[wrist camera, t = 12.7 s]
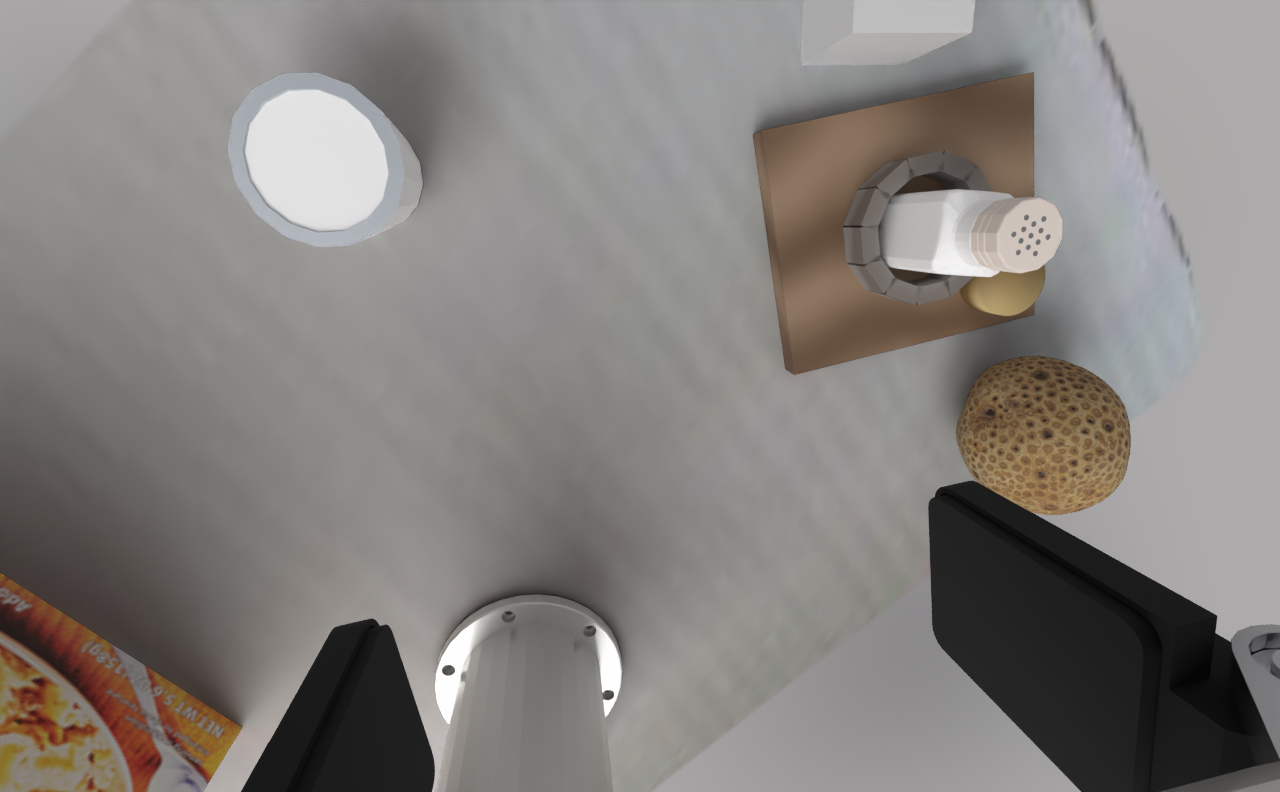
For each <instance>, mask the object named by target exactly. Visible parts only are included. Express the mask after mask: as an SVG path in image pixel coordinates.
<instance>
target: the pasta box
mask: <svg viewBox="0 0 1280 792" xmlns="http://www.w3.org/2000/svg"><path fill="white" fill-rule="evenodd" d="M241 729H242V728H241V727H240V726H238V725H237V724H235V723H234V722H232V721H230V720H229V719H227V718H226V717H224V716H223V715H221V714H220V713H218V712H216V711H215V710H213V709H212V708H210V707H209V706H207V705H205V704H204V703H202V702H201V701H199V700H198V699H196V698H195V697H193V696H191V695H190V694H188V693H187V692H185V691H184V690H182V689H181V688H179V687H177V686H176V685H174V684H173V683H171V682H170V681H168V680H167V679H165V678H163V677H162V676H160V675H159V674H157V673H156V672H154V671H152V670H151V669H149V668H148V667H146V666H145V665H143V664H142V663H140V662H138V661H137V660H135V659H134V658H132V657H131V656H129V655H128V654H126V653H124V652H123V651H121V650H120V649H118V648H117V647H115V646H113V645H112V644H110V643H109V642H107V641H106V640H104V639H103V638H101V637H99V636H98V635H96V634H95V633H93V632H92V631H90V630H89V629H87V628H85V627H84V626H82V625H81V624H79V623H78V622H76V621H74V620H73V619H71V618H70V617H68V616H67V615H65V614H64V613H62V612H60V611H59V610H57V609H56V608H54V607H53V606H51V605H50V604H48V603H46V602H45V601H43V600H42V599H40V598H39V597H37V596H35V595H34V594H32V593H31V592H29V591H28V590H26V589H25V588H23V587H21V586H20V585H18V584H17V583H15V582H14V581H12V580H11V579H9V578H7V577H6V576H4V575H3V574H1V573H0V792H203V791H204V789H205V788H206V786H207V784H208V783H209V781H210V780H211V778H212V776H213V775H214V773H215V771H216V770H217V768H218V766H219V765H220V763H221V762H222V760H223V758H224V757H225V755H226V753H227V752H228V750H229V748H230V747H231V745H232V744H233V742H234V740H235V739H236V737H237V735H238V734H239V732H240V731H241Z"/></svg>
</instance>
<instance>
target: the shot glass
mask: <svg viewBox="0 0 1280 792" xmlns="http://www.w3.org/2000/svg"><path fill="white" fill-rule="evenodd" d="M227 150H228V155H229V159H230V163H231V167H232V171H233V175H234V180H235V184H236V186H237V187H238V189H239V190H240V192H241V193H242V195H243V196H244V197H245V199H246V200H247V202H248V203H249V205H250V206H251V208H252V209H253V211H254V212H255V214H256V215H257V216H258V217H260V218H261V219H262V220H264V221H265V222H266V223H268V224H269V225H270V226H272V227H273V228H274V229H276V230H277V231H278V232H280V233H281V234H282V235H284V236H285V237H287V238H291V239H294V240H297V241H300V242H303V243H306V244H309V245H313V246H316V247H333V246H349V245H353V244H355V243H358V242H360V241H362V240H365V239H367V238H369V237H372V236H374V235H376V234H379V233H381V232H383V231H386V230H388V229H390V228H392V227H394V226H396V225H398V224H400V223H402V222H404V221H406V219H407V218H408V217H409V216H410V214H411V213H412V212H413V211H414V209H415V208H416V207H417V205H418V203H419V199H420V195H421V191H422V187H423V180H422V174H421V167H420V162H419V160H418V158H417V157H416V155H415V153H414V151H413V149H412V148H411V146H410V144H409V142H408V141H407V140H406V139H405V138H404V136H403V135H402V134H401V133H400V132H399V130H398V129H397V128H396V127H395V126H394V125H393V123H392V122H391V121H390V120H389V119H388V118H387V116H386V115H385V114H384V113H383V112H382V111H381V110H380V109H379V108H378V107H377V106H376V105H375V104H373V103H372V102H371V101H370V100H369V99H368V98H366V97H365V96H364V95H363V94H362V93H361V92H359V91H358V90H357V89H356V88H355V87H354V86H352V85H350V84H347V83H344V82H342V81H339V80H337V79H334V78H331V77H329V76H326V75H323V74H321V73H318V72H315V73H282V74H280V75H278V76H276V77H274V78H272V79H270V80H268V81H266V82H264V83H262V84H260V85H258V86H257V87H255V88H253V89H252V90H251V91H250V93H249V94H248V95H247V97H246V98H245V100H244V101H243V102H242V104H241V105H240V106H239V108H238V109H237V111H236V112H235V113H234V115H233V118H232V124H231V130H230V136H229V142H228V148H227Z"/></svg>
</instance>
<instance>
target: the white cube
mask: <svg viewBox="0 0 1280 792" xmlns="http://www.w3.org/2000/svg"><path fill="white" fill-rule="evenodd" d="M974 9H975V0H803V15H802V44H801V66H847V65H903V64H905V63H907V62H909V61H911V60H914V59H916V58H918V57H920V56H922V55H925V54H927V53H929V52H931V51H933V50H936V49H938V48H940V47H942V46H944V45H947V44H949V43H951V42H953V41H955V40H957V39H960V38H962V37H964V36H966V35H968V34H971V33H972V27H973V18H974Z"/></svg>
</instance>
